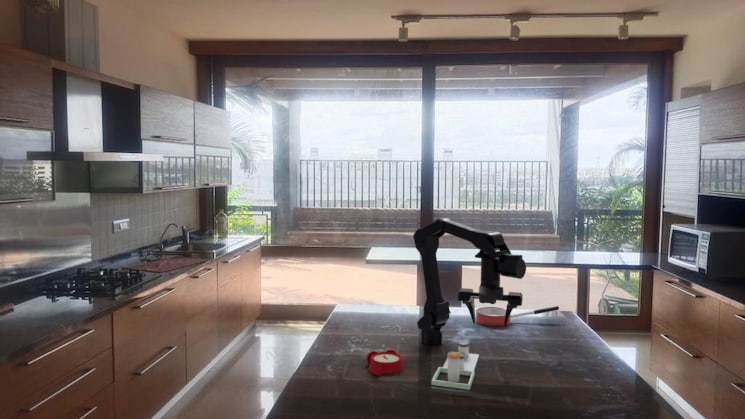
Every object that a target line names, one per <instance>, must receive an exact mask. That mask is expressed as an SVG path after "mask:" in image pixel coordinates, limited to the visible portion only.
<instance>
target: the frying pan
mask: <svg viewBox="0 0 745 419" xmlns="http://www.w3.org/2000/svg"><path fill="white" fill-rule="evenodd" d="M559 309H560V307H559V305H556V306H551V307H544V308H539V309H536V310H532V311H527V312H526V311H525V312H523V313H521V312H520V313H515V314H512V312H511V313H510V316H509V318H508V321H507V324H506V327H507V326H509V325H510V324H511V319H513V318H519V317H524V316H530V315H538V314H544V313H550V312H555V311H559ZM505 315H506V308H501V307H496V306H495V307H494V306H486V307H485V306H484V307H479V308H476V309H475V322H476V323H477V324H479V325H481V326H486V327H490V328H491V327H492V328H502V327H504V321H505Z"/></svg>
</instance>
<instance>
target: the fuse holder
mask: <svg viewBox="0 0 745 419" xmlns="http://www.w3.org/2000/svg"><path fill="white" fill-rule="evenodd" d="M457 344H458V345H457V346H458V347H457V348H458V351H457V352H458V353H460V369H461V370H469V371H475V369H476V367H477V362H478V359H479V356H480V354H478V353H470V343H469V342H468V341H458V343H457ZM450 352H453V351H450ZM442 367H444V368H448V357H447V358H446V359H445V362H444V364H443V366H442Z"/></svg>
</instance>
